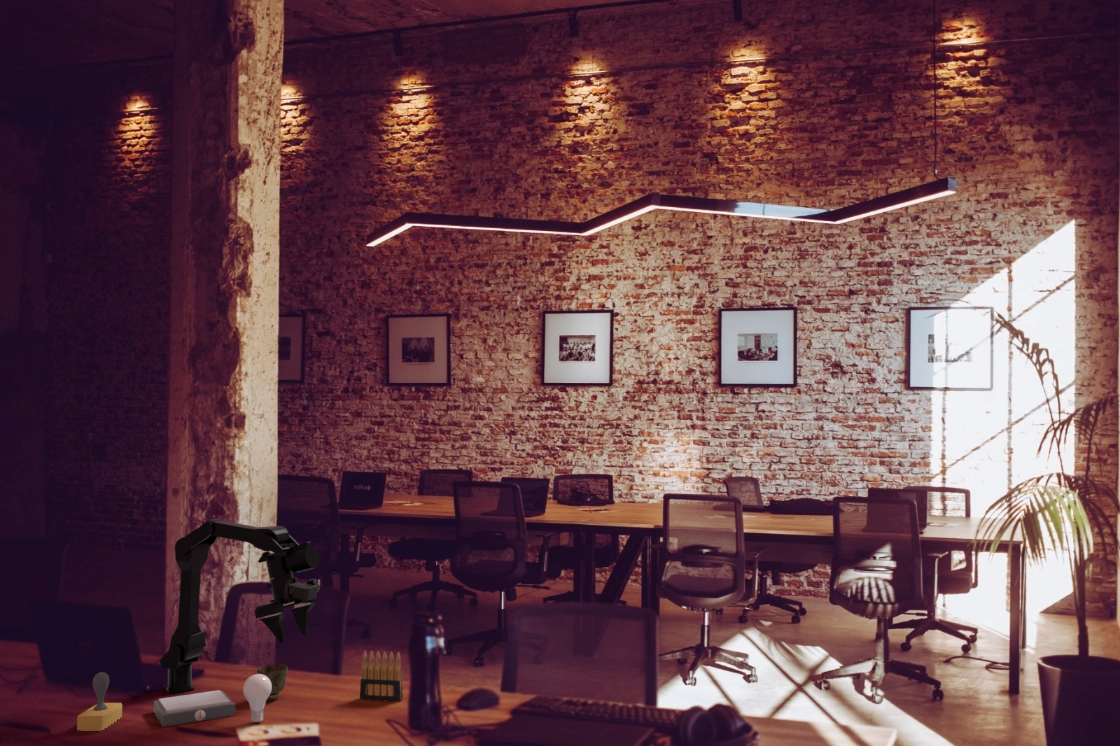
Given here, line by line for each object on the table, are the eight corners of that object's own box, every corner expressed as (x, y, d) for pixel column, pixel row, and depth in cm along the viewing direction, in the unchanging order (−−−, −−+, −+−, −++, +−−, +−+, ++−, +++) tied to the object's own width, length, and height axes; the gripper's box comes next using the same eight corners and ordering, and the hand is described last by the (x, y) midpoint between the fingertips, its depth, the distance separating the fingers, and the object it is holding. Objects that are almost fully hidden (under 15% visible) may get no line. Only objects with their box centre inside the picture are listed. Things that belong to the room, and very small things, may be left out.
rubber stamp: (101, 732, 214) (102, 678, 214) (76, 732, 214) (77, 678, 214) (122, 718, 224) (123, 666, 224) (98, 718, 224) (99, 666, 224)
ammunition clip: (359, 699, 238) (359, 651, 238) (362, 697, 240) (362, 649, 240) (400, 701, 236) (400, 652, 237) (402, 699, 238) (403, 650, 238)
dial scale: (153, 712, 228) (153, 698, 228) (222, 701, 236) (222, 688, 237) (163, 727, 216) (163, 713, 217) (235, 715, 225) (235, 702, 225)
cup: (292, 695, 242) (292, 663, 242) (280, 703, 234) (281, 670, 235) (263, 694, 242) (264, 662, 243) (251, 703, 235) (252, 670, 236)
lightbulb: (245, 728, 215) (245, 679, 216) (240, 720, 221) (241, 672, 222) (273, 724, 218) (274, 675, 219) (268, 716, 224) (269, 669, 225)
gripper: (284, 576, 228) (298, 641, 226) (328, 564, 245) (341, 624, 243) (247, 585, 231) (259, 649, 229) (293, 573, 249) (305, 632, 247)
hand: (293, 638), depth 237 cm, fingers open, 9 cm apart
